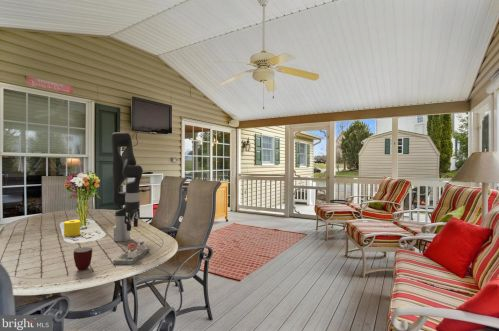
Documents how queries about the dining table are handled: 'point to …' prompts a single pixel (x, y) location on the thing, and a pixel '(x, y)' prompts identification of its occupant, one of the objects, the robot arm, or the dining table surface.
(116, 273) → the dining table surface
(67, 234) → the yellow cylinder
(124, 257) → the panel
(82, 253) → the mug
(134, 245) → the cap
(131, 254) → the toggle
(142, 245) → the toggle
